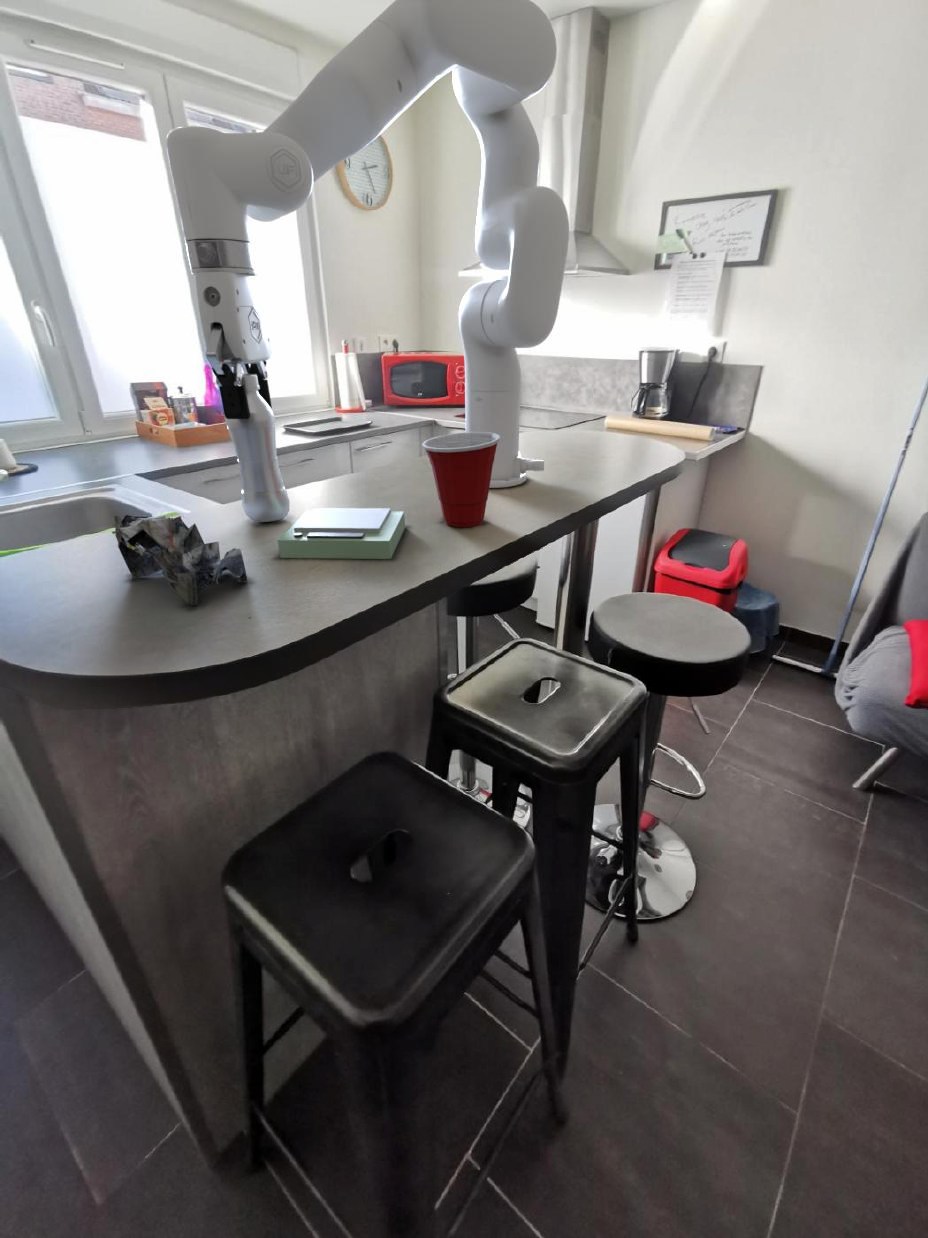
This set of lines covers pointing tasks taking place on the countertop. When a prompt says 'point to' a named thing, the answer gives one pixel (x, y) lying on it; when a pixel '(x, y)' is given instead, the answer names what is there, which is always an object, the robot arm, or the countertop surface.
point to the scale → (344, 534)
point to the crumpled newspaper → (174, 554)
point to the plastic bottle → (258, 458)
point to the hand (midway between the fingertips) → (249, 413)
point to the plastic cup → (462, 474)
